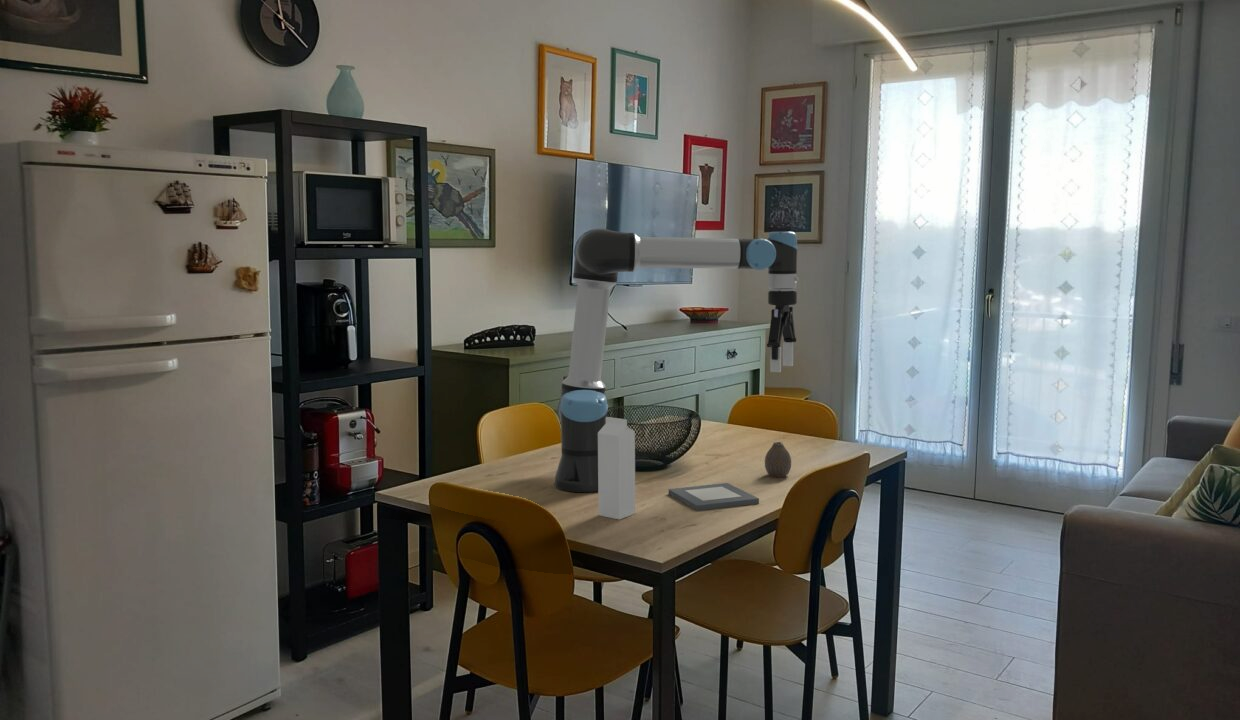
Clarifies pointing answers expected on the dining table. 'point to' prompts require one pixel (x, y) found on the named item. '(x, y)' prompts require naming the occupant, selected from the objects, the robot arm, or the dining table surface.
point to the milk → (616, 469)
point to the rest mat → (713, 496)
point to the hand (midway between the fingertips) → (781, 369)
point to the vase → (778, 460)
